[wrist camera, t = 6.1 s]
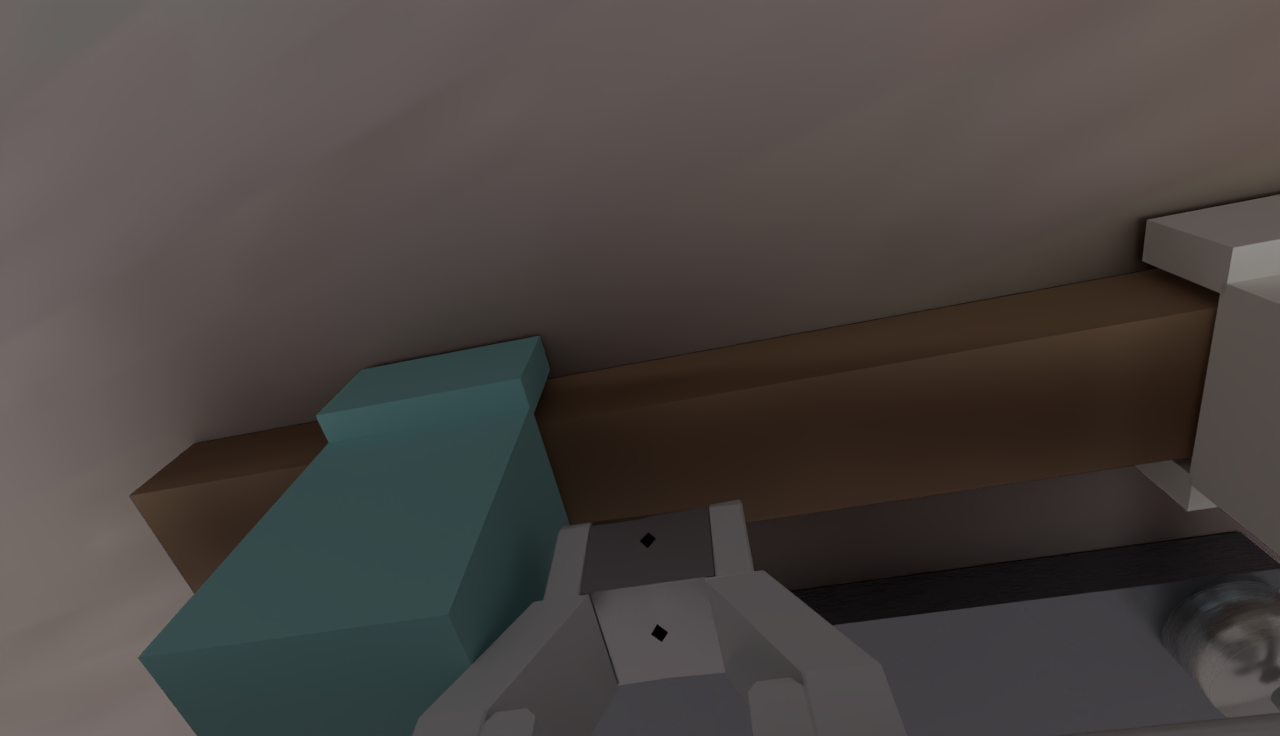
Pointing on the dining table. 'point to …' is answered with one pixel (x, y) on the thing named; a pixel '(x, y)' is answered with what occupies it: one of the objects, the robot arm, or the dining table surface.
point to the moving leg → (378, 557)
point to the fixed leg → (1231, 363)
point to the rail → (808, 416)
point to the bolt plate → (1034, 646)
